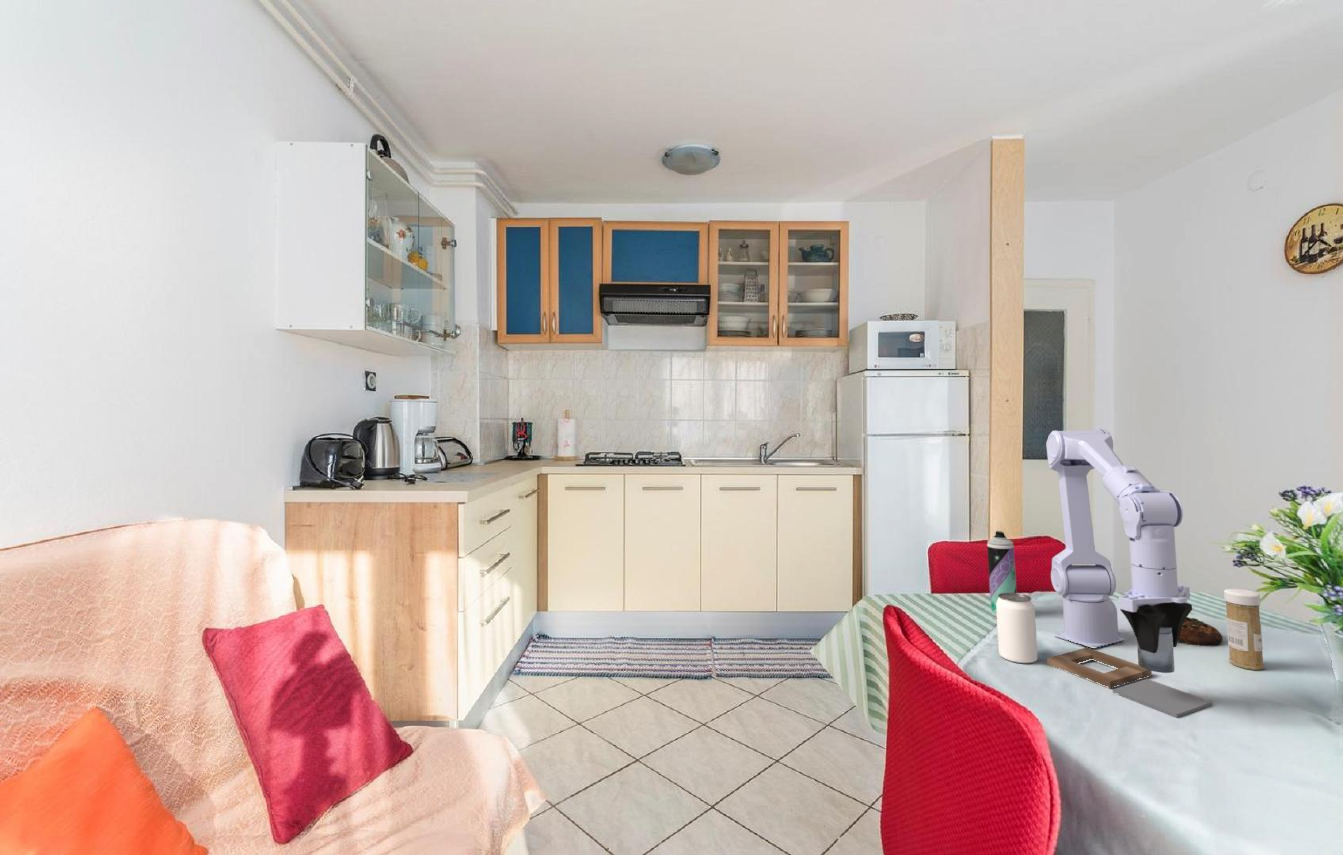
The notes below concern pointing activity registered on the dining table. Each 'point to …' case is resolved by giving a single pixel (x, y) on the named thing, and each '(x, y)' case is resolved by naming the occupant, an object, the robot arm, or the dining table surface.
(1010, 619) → the can
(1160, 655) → the grey metal cylinder
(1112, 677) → the collar
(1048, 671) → the dining table surface
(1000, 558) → the spray can
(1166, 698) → the coaster
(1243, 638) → the sprinkles bottle
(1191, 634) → the bread roll
